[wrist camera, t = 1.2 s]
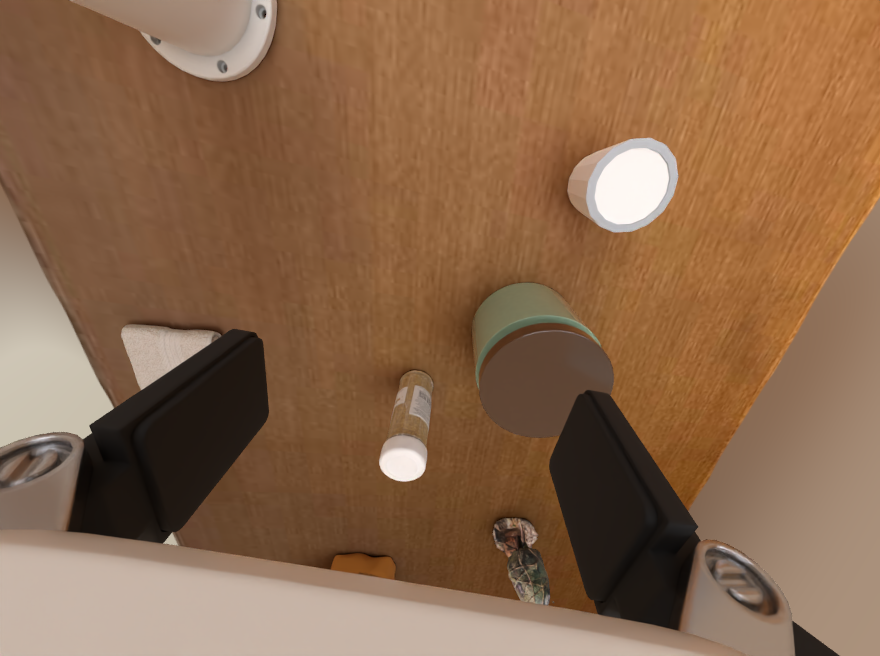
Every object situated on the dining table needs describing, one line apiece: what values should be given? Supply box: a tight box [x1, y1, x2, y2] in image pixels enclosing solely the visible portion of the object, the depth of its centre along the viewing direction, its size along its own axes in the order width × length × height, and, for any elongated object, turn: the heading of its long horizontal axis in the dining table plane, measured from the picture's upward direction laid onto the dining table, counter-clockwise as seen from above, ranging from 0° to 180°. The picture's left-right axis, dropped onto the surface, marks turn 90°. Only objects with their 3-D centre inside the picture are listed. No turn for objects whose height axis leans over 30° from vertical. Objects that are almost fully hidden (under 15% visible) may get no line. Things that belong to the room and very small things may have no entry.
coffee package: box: [330, 553, 396, 580], centre depth 53 cm, size 10×12×22 cm
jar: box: [472, 283, 614, 438], centre depth 34 cm, size 12×12×12 cm
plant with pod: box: [492, 518, 554, 605], centre depth 47 cm, size 8×11×20 cm
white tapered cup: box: [567, 138, 678, 232], centre depth 29 cm, size 7×7×7 cm
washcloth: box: [121, 324, 221, 390], centre depth 43 cm, size 12×18×3 cm, turn 176°
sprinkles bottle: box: [379, 370, 433, 481], centre depth 37 cm, size 5×5×14 cm
